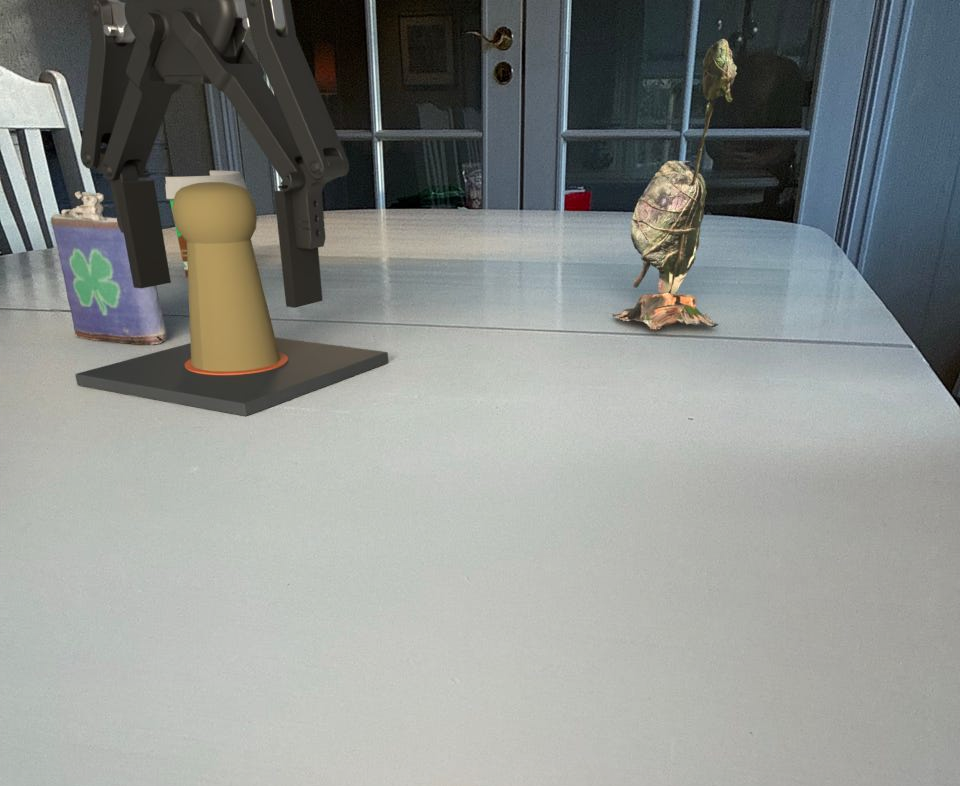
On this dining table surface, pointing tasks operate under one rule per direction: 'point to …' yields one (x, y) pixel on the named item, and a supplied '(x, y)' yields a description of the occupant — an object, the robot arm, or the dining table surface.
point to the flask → (103, 278)
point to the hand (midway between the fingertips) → (225, 294)
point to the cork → (224, 279)
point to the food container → (179, 182)
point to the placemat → (233, 376)
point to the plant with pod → (676, 216)
